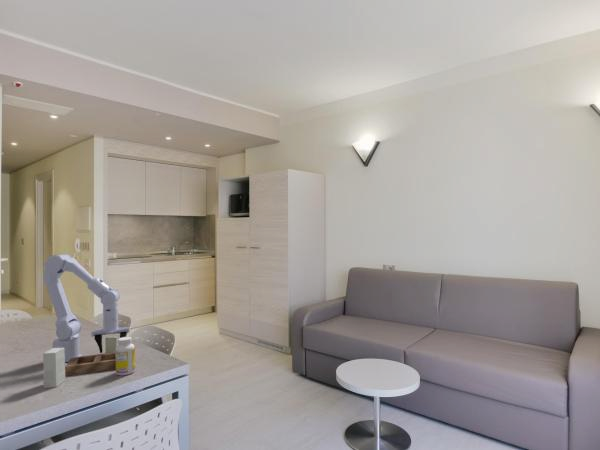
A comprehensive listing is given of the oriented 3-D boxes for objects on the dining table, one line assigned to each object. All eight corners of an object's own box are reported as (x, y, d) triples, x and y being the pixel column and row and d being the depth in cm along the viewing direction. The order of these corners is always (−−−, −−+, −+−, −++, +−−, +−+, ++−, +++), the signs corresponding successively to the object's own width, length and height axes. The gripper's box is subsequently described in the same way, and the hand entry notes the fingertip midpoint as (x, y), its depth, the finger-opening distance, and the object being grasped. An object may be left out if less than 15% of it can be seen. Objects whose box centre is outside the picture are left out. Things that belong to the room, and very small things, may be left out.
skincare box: (53, 381, 136) (52, 347, 136) (65, 380, 137) (65, 347, 137) (43, 388, 130) (42, 353, 130) (56, 387, 131) (55, 352, 131)
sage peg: (105, 359, 159) (105, 339, 159) (106, 356, 163) (106, 337, 163) (116, 357, 161) (115, 338, 161) (116, 354, 164) (116, 336, 164)
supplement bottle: (129, 368, 148) (129, 334, 148) (138, 371, 144) (138, 337, 144) (112, 373, 143) (111, 339, 143) (120, 377, 139) (120, 342, 139)
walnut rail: (65, 375, 141) (65, 366, 141) (70, 366, 151) (70, 357, 151) (124, 367, 149) (124, 359, 149) (126, 358, 159) (126, 350, 159)
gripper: (90, 323, 155) (90, 356, 155) (129, 319, 161) (129, 351, 161) (92, 319, 162) (92, 351, 162) (129, 315, 167) (130, 346, 167)
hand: (111, 351), depth 162 cm, fingers open, 7 cm apart
